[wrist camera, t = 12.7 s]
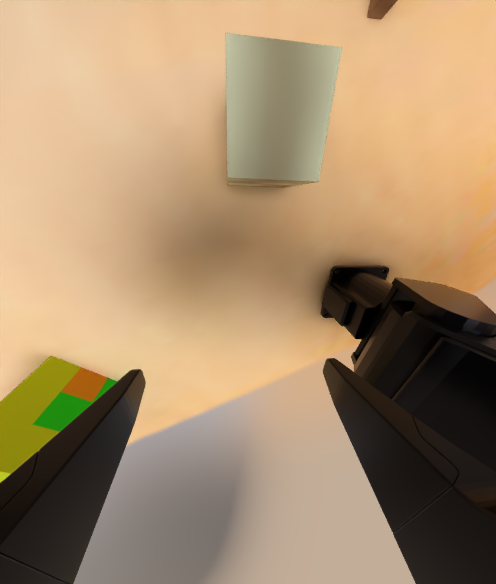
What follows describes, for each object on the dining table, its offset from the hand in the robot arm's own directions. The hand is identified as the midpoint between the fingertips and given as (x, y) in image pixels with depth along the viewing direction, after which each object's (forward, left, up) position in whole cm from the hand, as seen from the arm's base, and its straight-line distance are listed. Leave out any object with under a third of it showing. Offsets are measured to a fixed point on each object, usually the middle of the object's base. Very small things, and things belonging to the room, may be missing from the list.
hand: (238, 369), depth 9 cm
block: (-2, -11, -12) cm, 16 cm away
